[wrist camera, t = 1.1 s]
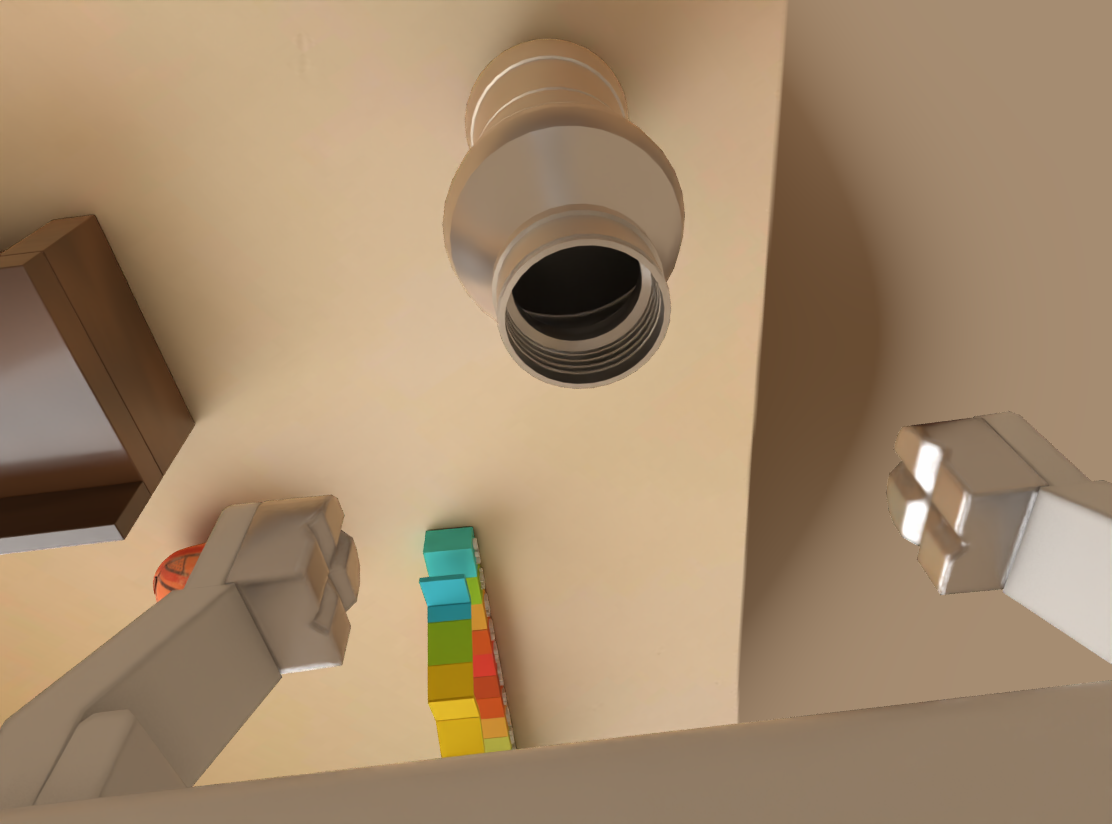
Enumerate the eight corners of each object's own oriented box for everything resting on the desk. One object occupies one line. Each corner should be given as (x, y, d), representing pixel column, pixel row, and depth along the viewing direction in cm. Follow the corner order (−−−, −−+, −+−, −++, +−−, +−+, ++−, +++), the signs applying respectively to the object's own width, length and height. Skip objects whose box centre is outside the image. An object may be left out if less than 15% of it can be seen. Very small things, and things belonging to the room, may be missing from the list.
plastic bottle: (624, 175, 33) (741, 421, 17) (480, 195, 34) (456, 458, 17) (614, 19, 30) (752, 138, 13) (453, 42, 30) (390, 188, 13)
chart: (524, 782, 62) (528, 994, 50) (487, 785, 62) (482, 999, 50) (476, 525, 45) (465, 752, 33) (426, 530, 45) (395, 759, 33)
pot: (338, 572, 46) (295, 669, 41) (248, 588, 49) (197, 680, 44) (260, 491, 42) (200, 588, 37) (165, 513, 45) (98, 606, 40)
